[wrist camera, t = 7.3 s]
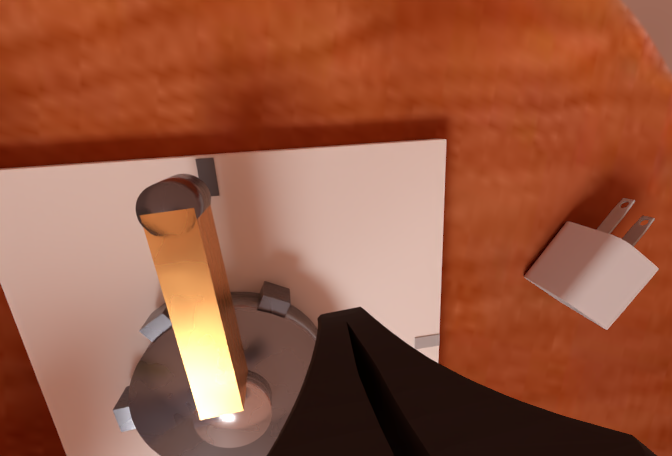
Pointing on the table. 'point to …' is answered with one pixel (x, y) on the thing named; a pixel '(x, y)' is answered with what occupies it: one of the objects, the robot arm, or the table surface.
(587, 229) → the usb wall charger
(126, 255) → the base plate
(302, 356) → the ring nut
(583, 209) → the table surface
